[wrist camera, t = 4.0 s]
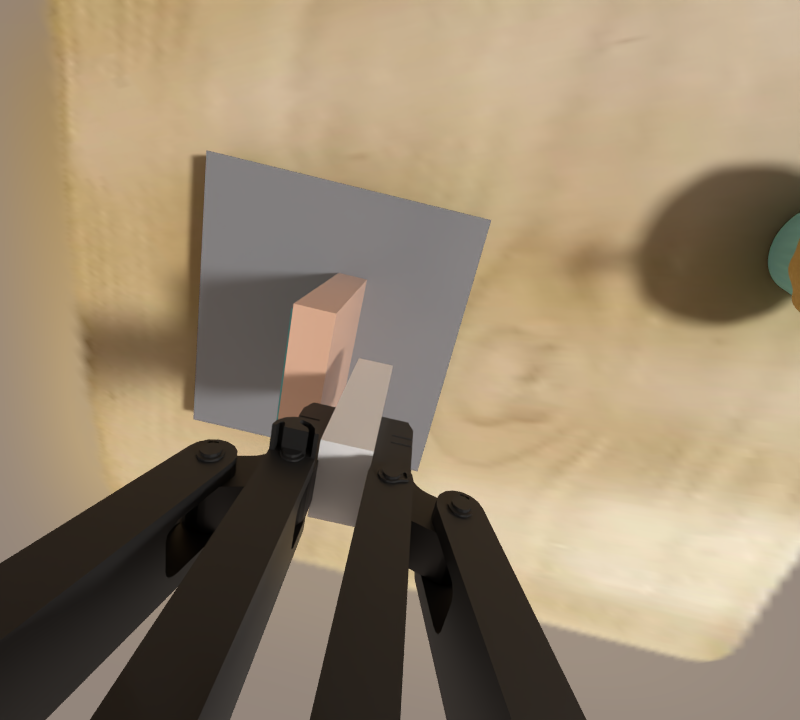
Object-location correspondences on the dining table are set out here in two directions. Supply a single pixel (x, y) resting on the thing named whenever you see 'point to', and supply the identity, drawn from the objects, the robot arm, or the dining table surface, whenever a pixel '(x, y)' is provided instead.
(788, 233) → the cupcake
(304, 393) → the tile
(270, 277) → the board
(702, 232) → the dining table surface
